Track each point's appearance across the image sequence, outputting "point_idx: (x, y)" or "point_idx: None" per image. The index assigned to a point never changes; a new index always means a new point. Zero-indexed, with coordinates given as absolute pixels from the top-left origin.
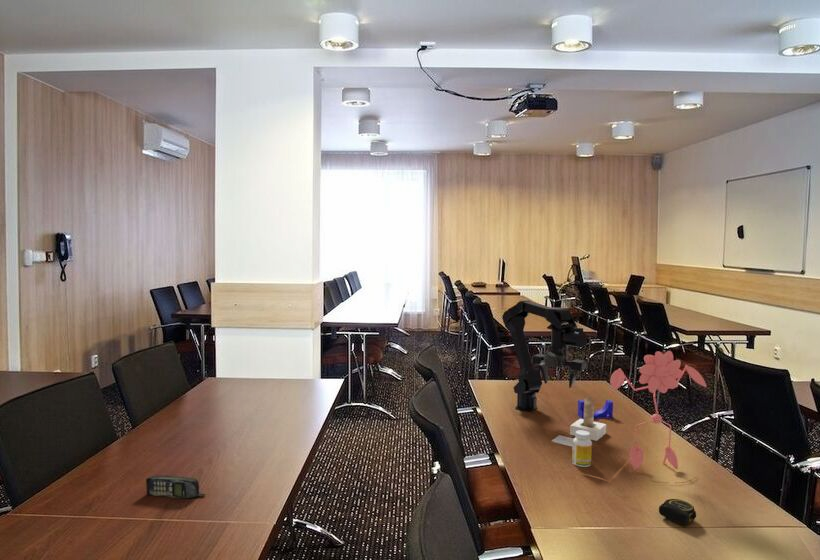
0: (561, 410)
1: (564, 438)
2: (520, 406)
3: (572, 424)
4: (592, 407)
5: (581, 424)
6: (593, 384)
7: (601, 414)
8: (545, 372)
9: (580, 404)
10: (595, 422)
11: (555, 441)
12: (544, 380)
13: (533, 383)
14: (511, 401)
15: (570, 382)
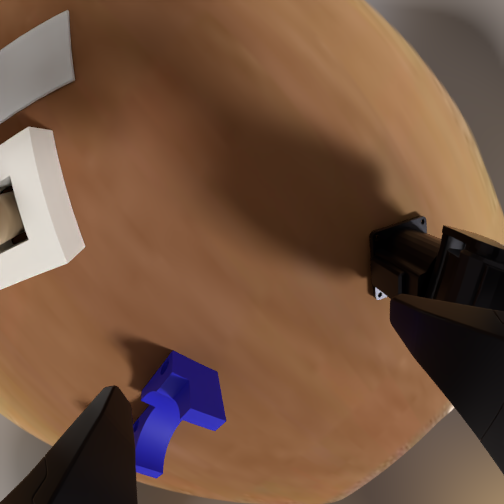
0: (293, 358)
1: (41, 73)
2: (414, 229)
3: (29, 147)
4: None
5: (18, 200)
6: (337, 493)
7: (147, 416)
8: (488, 366)
9: (191, 399)
10: (7, 276)
11: (53, 23)
12: (424, 300)
13: (461, 296)
14: None
15: (78, 429)
